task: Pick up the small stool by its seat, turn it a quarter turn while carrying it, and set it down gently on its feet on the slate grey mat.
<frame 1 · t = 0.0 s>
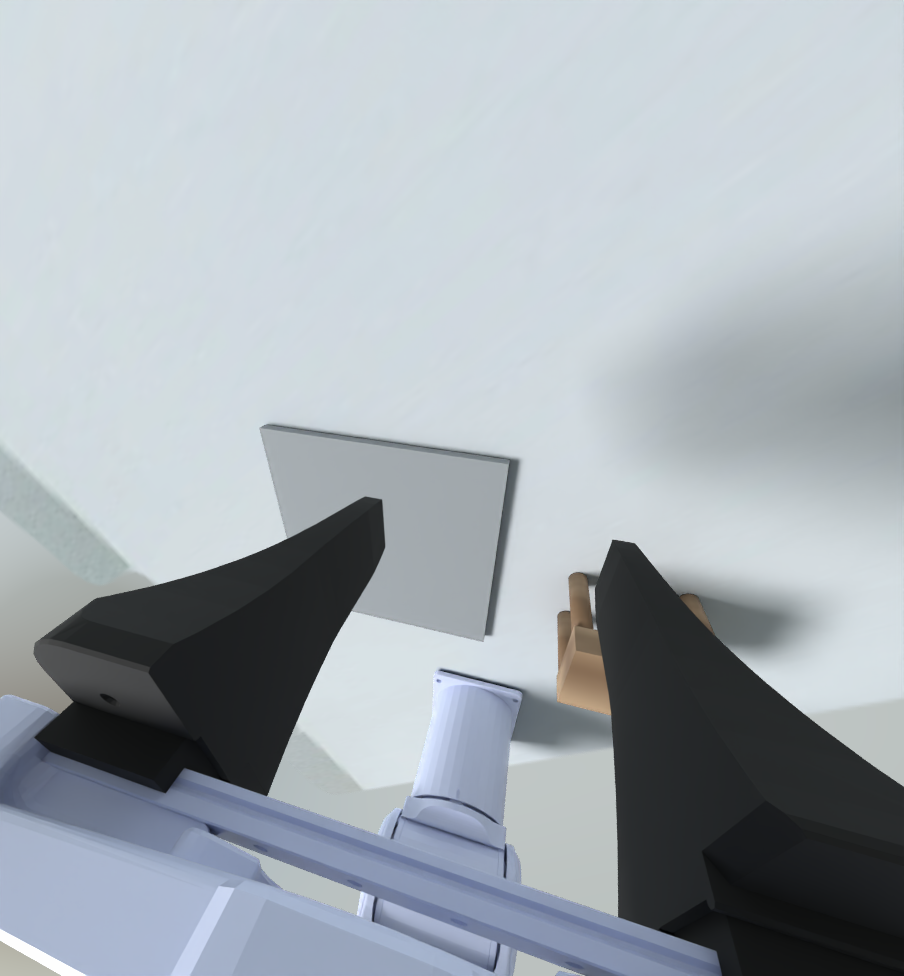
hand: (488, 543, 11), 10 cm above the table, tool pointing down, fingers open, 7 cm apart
stool: (623, 609, 25), on the table
mat: (386, 541, 26), on the table
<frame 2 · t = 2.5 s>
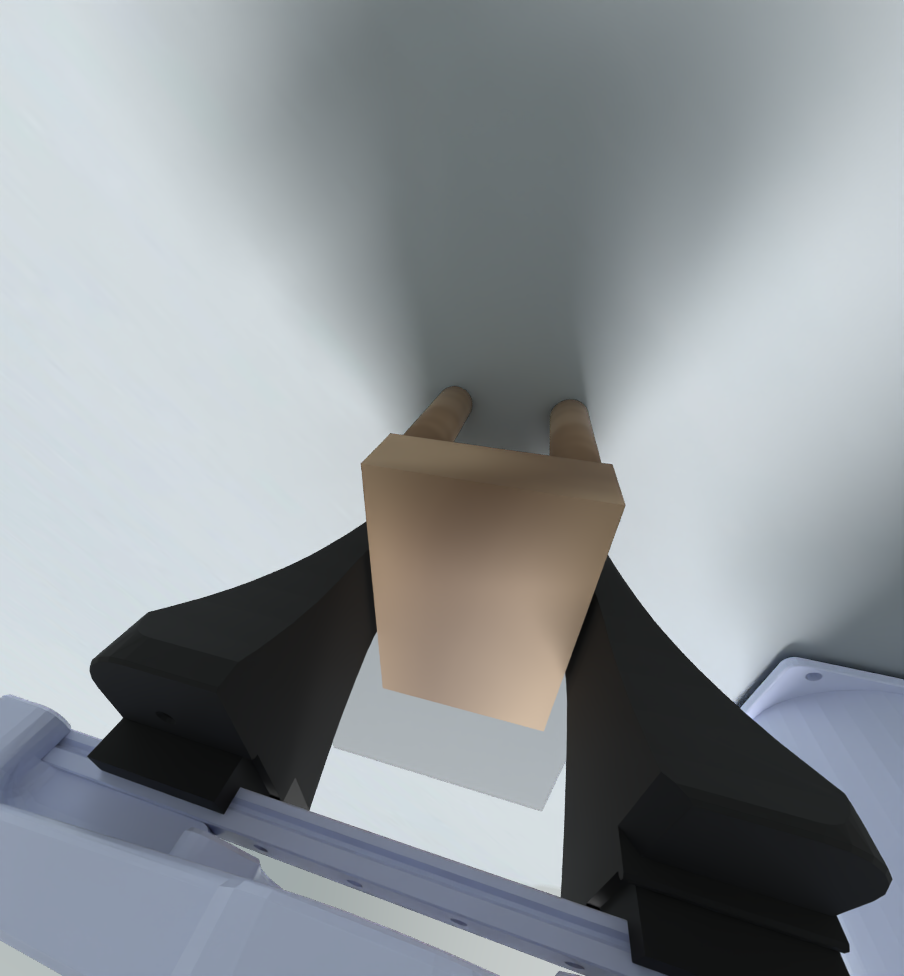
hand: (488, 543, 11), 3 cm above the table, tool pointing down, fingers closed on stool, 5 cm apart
stool: (498, 495, 14), on the table, touching gripper
mat: (437, 713, 23), on the table
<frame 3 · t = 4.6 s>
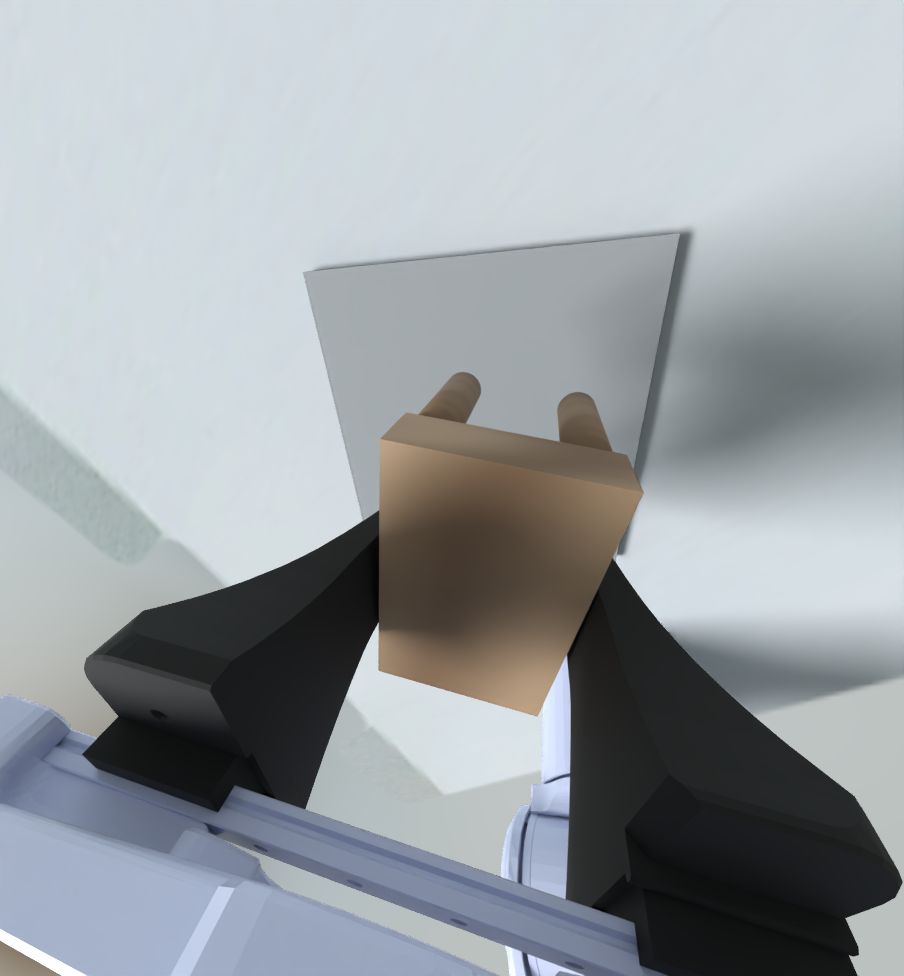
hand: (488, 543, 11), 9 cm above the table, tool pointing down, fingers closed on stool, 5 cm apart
stool: (500, 485, 14), point 6 cm above the table, touching gripper
mat: (478, 428, 20), on the table
when the fingers open (5 cm above the table, at t = 6.7 s): stool drops 2 cm, resting on mat.
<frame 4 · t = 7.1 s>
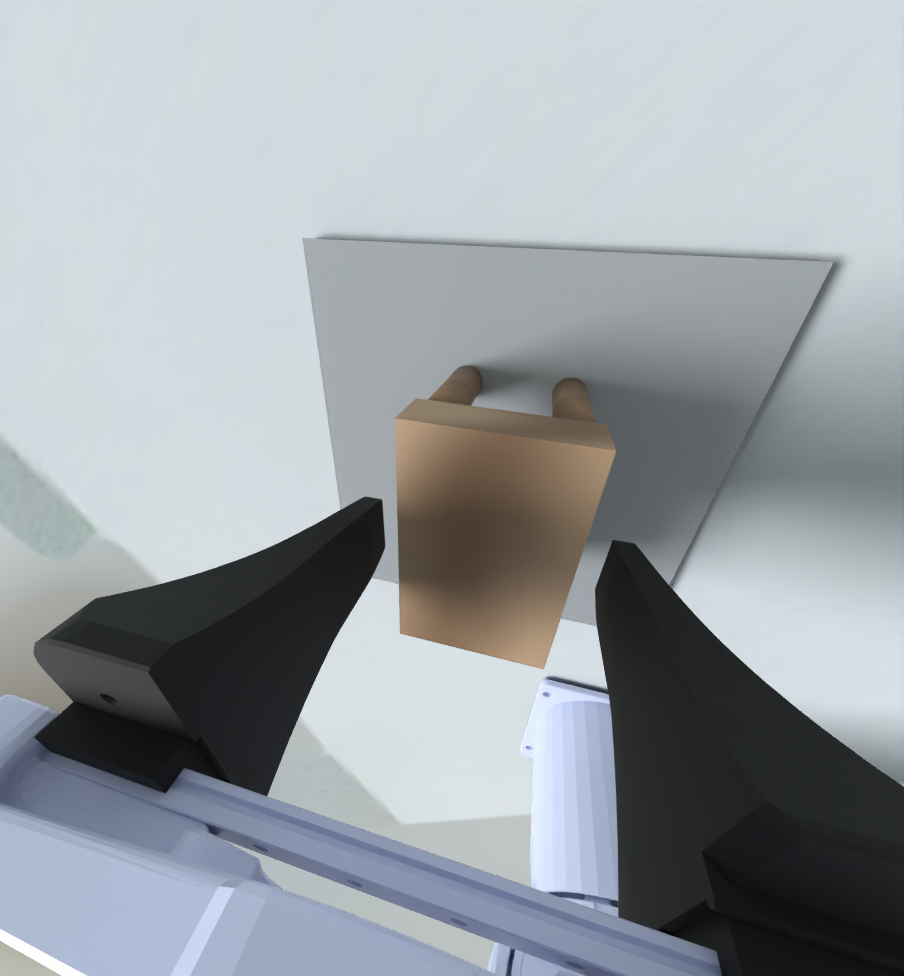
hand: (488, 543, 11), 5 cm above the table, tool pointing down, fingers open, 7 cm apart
stool: (504, 468, 15), point 1 cm above the table, touching mat
mat: (505, 467, 16), on the table
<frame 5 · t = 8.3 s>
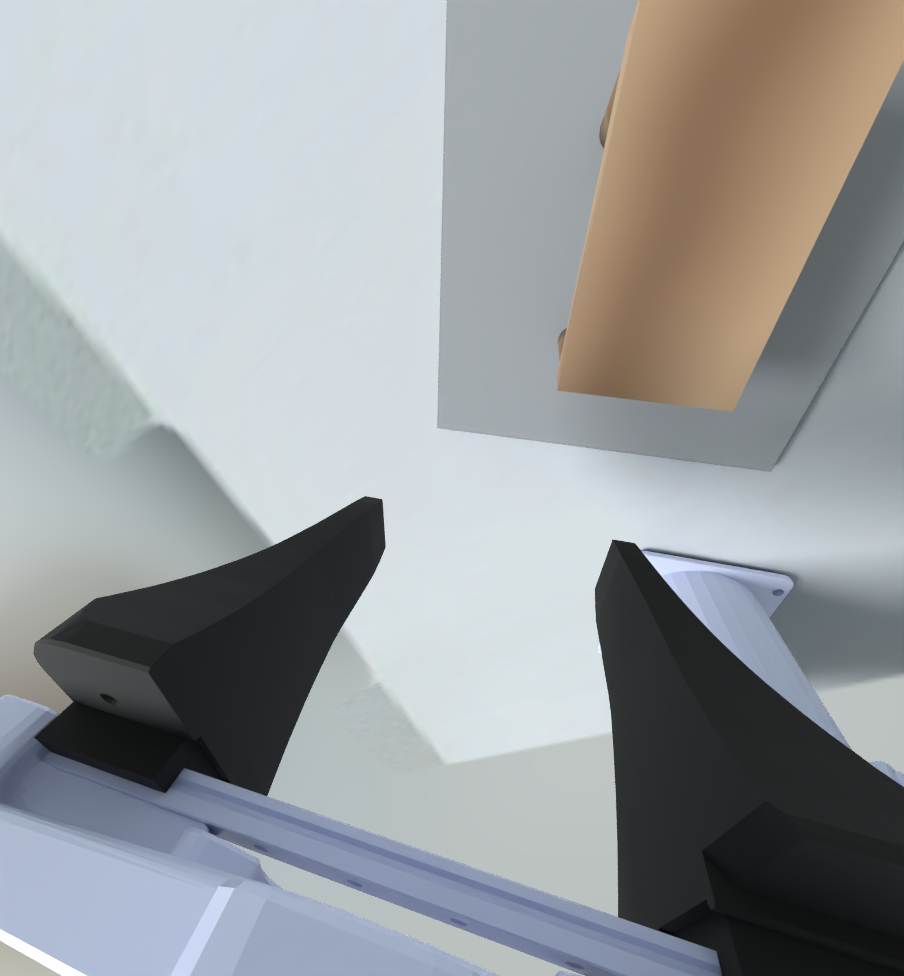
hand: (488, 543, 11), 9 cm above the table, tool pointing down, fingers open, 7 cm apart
stool: (643, 251, 14), point 1 cm above the table, touching mat
mat: (638, 260, 14), on the table
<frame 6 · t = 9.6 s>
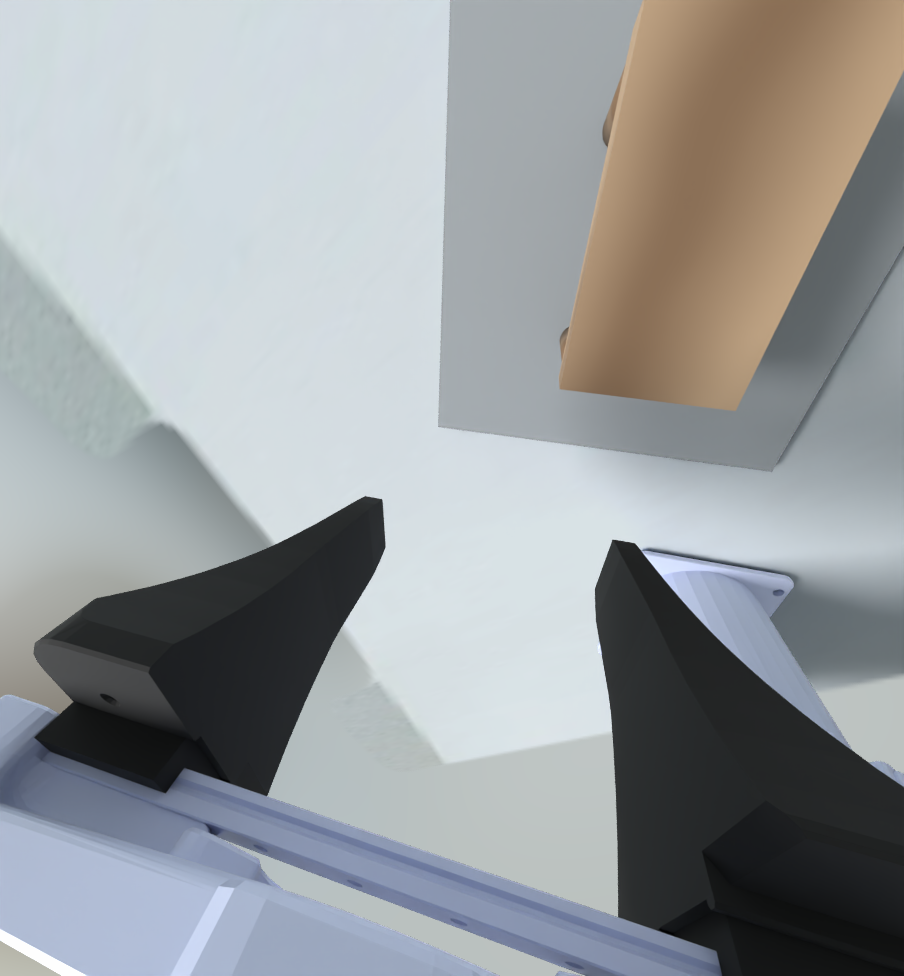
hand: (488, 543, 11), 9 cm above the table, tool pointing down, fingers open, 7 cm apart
stool: (646, 250, 14), point 1 cm above the table, touching mat
mat: (641, 259, 14), on the table
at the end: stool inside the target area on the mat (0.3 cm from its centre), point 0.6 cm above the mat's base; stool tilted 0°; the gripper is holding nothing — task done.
